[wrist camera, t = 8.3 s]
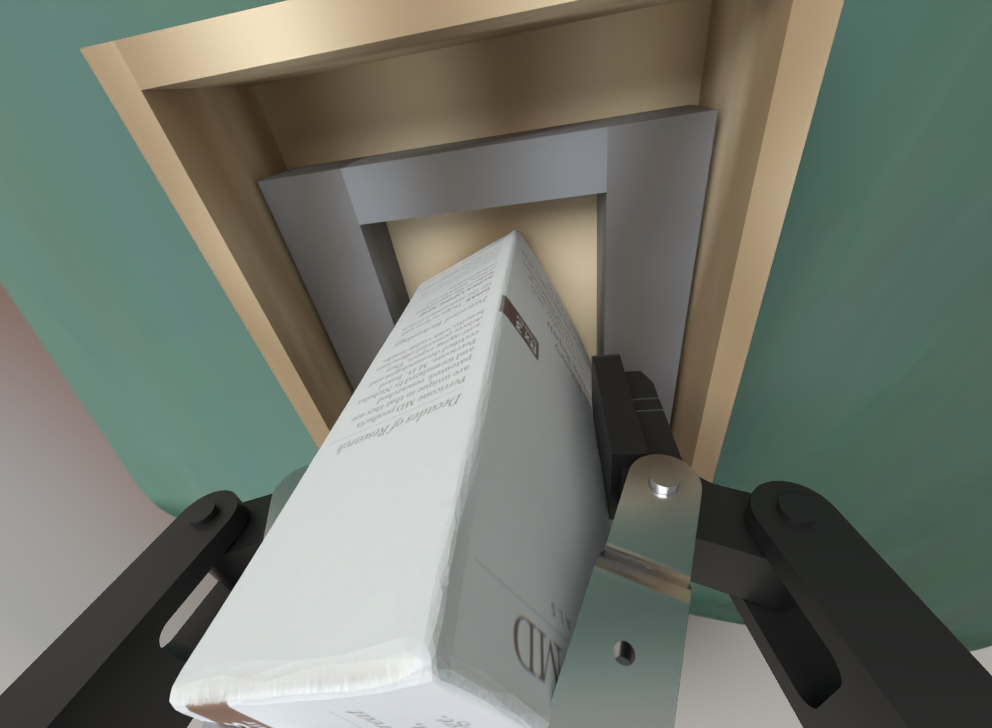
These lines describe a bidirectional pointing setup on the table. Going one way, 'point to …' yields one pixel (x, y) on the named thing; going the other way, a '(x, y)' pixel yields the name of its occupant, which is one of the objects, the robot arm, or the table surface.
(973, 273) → the table surface
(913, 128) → the table surface
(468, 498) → the skincare box
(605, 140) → the crate
